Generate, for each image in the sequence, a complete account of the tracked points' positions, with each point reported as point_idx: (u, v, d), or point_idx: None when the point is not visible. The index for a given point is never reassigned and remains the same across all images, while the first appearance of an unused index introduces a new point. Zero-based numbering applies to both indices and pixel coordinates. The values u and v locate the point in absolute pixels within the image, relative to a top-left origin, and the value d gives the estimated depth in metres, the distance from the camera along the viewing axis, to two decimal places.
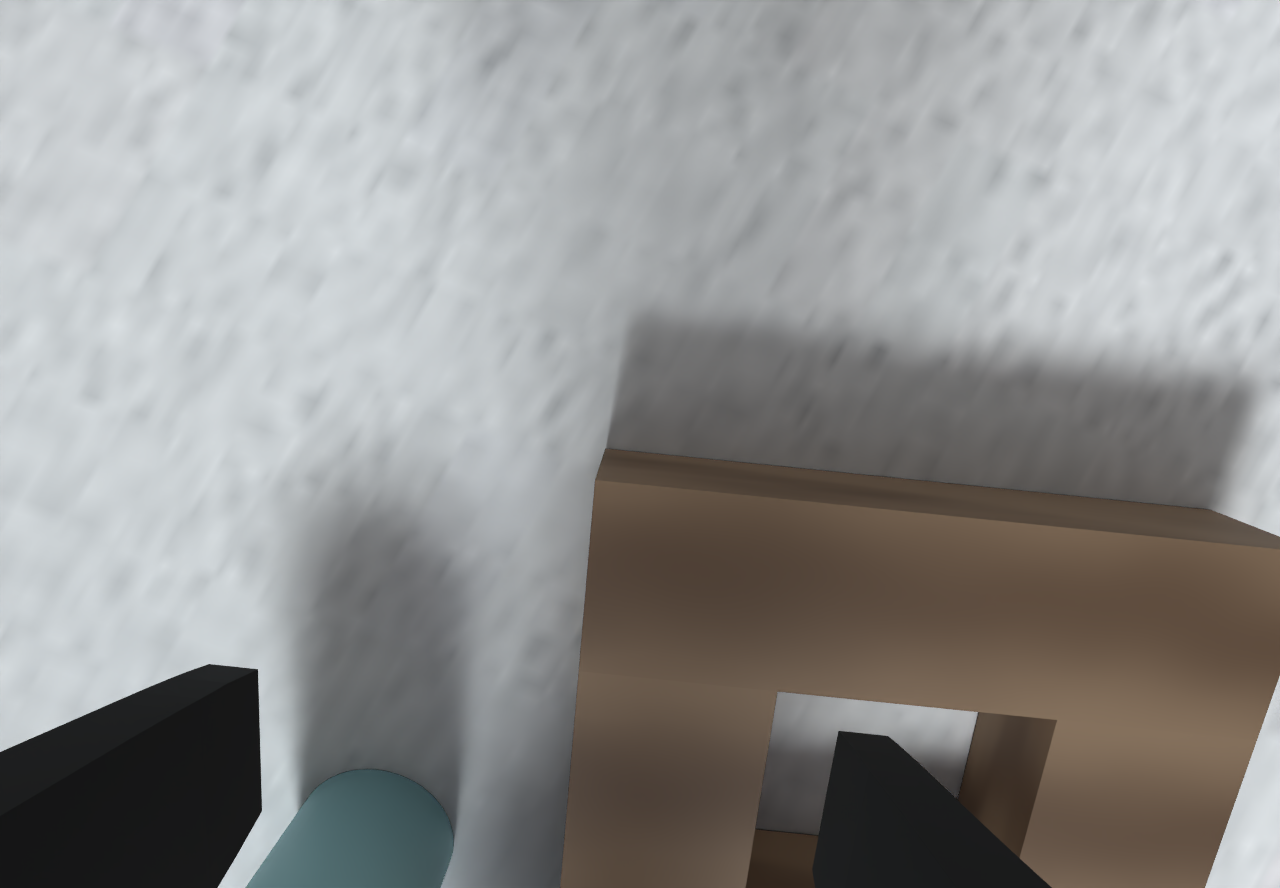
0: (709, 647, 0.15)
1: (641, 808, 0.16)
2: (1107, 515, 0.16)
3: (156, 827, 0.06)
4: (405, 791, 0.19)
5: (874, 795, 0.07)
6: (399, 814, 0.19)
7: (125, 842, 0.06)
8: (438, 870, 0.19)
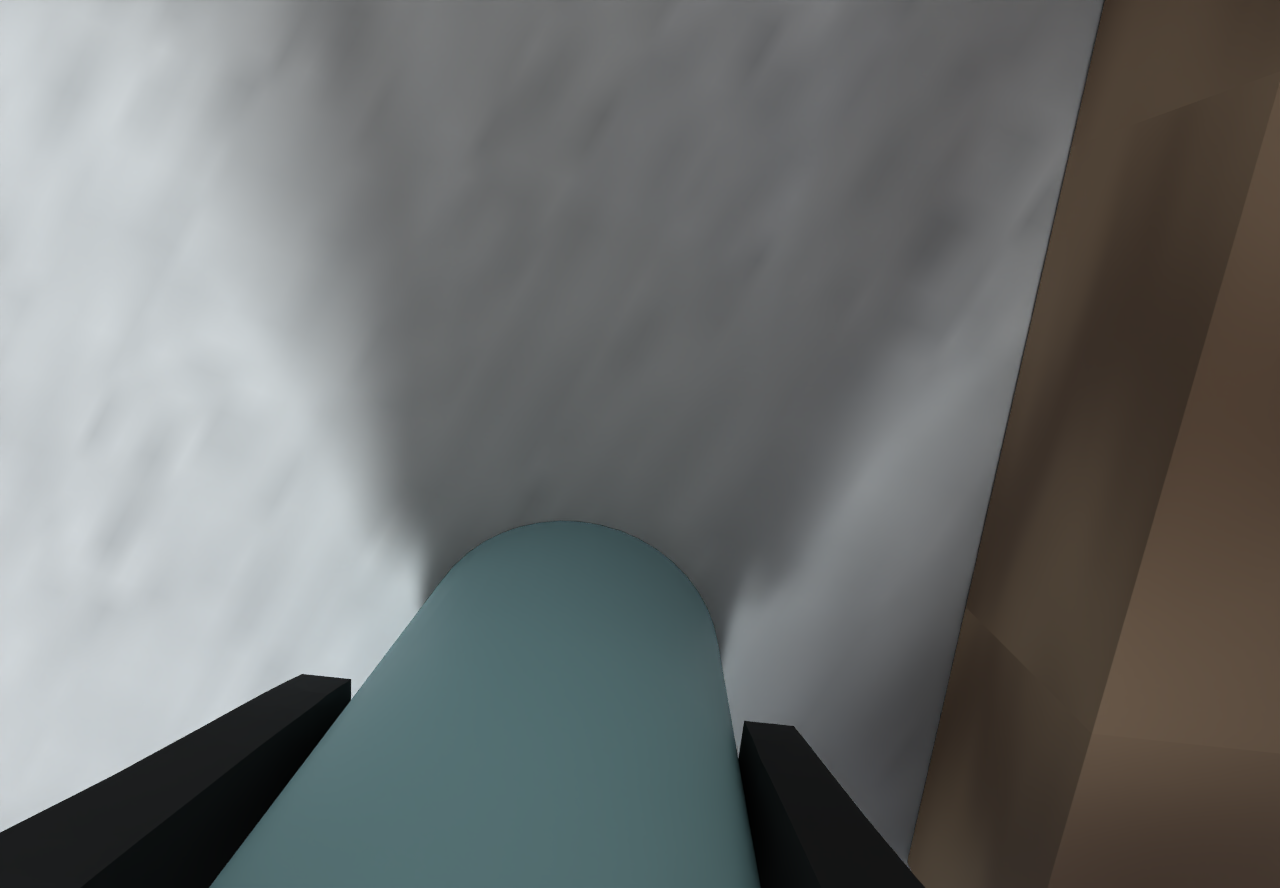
0: None
1: None
2: None
3: None
4: (646, 555, 0.10)
5: (763, 783, 0.07)
6: (656, 584, 0.09)
7: None
8: None
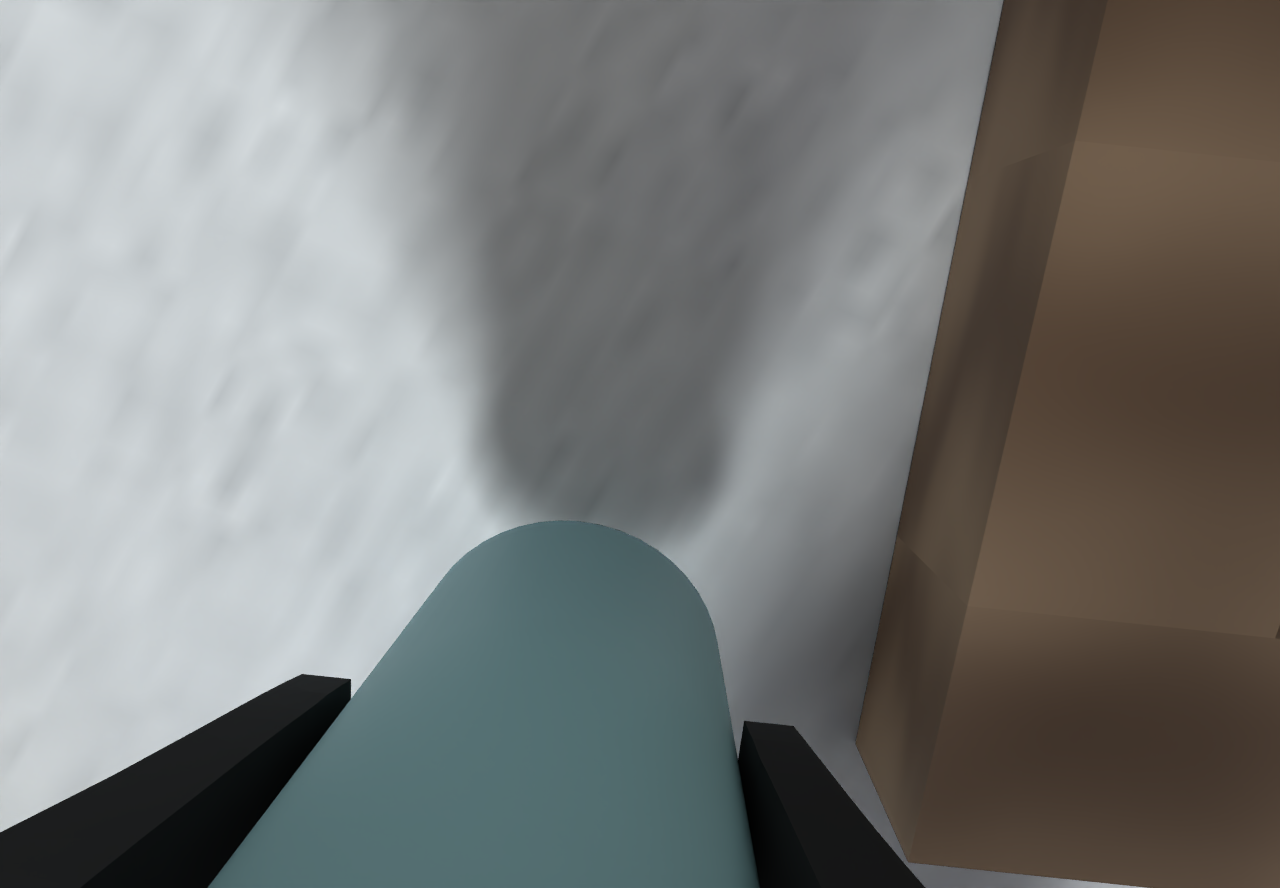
0: None
1: (1141, 424, 0.09)
2: None
3: None
4: (646, 555, 0.10)
5: (762, 783, 0.07)
6: (656, 584, 0.09)
7: None
8: None
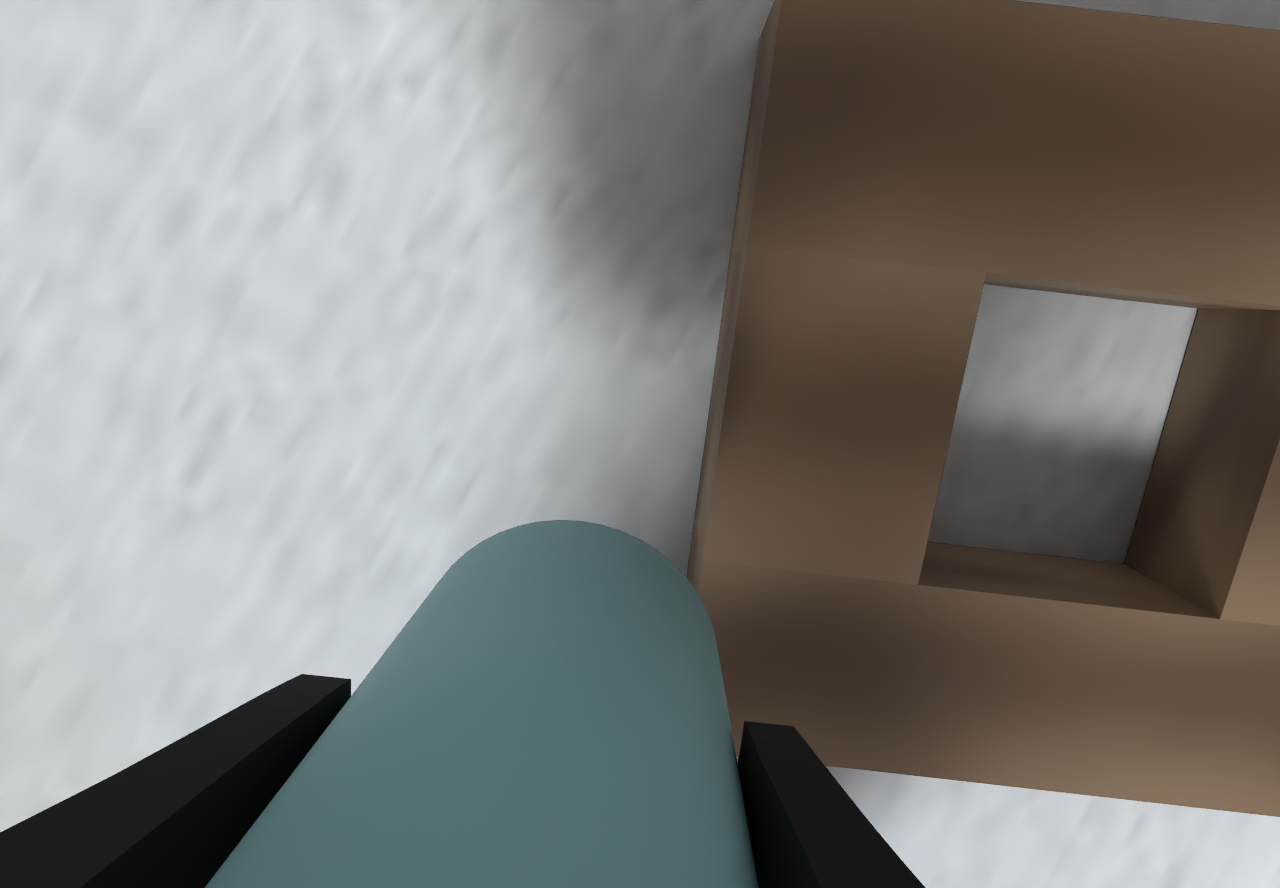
0: (908, 211, 0.13)
1: (809, 435, 0.14)
2: None
3: None
4: (645, 555, 0.10)
5: (762, 783, 0.07)
6: (654, 584, 0.09)
7: None
8: None
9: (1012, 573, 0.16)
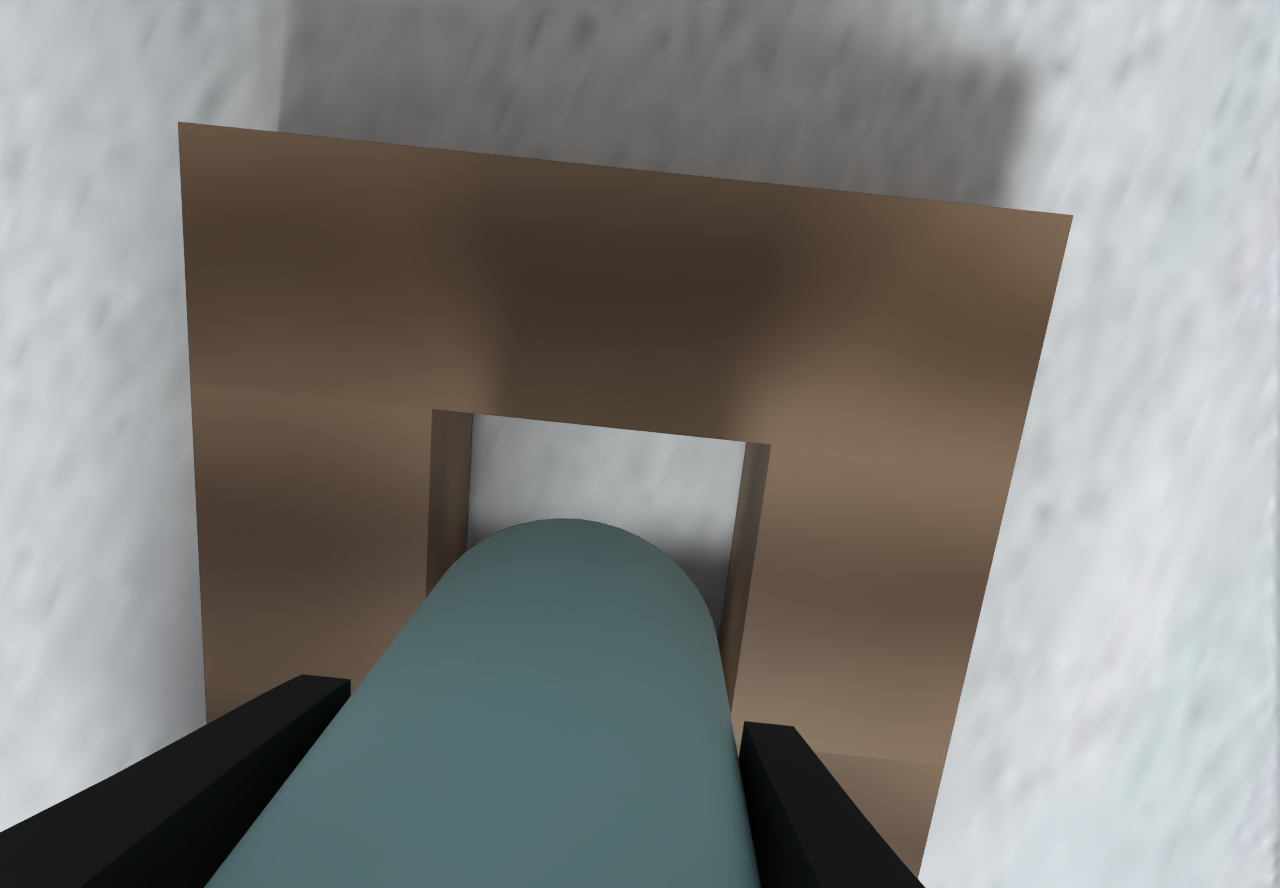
0: (343, 350, 0.13)
1: (287, 565, 0.14)
2: None
3: None
4: (646, 553, 0.10)
5: (762, 783, 0.07)
6: (655, 581, 0.09)
7: None
8: None
9: None
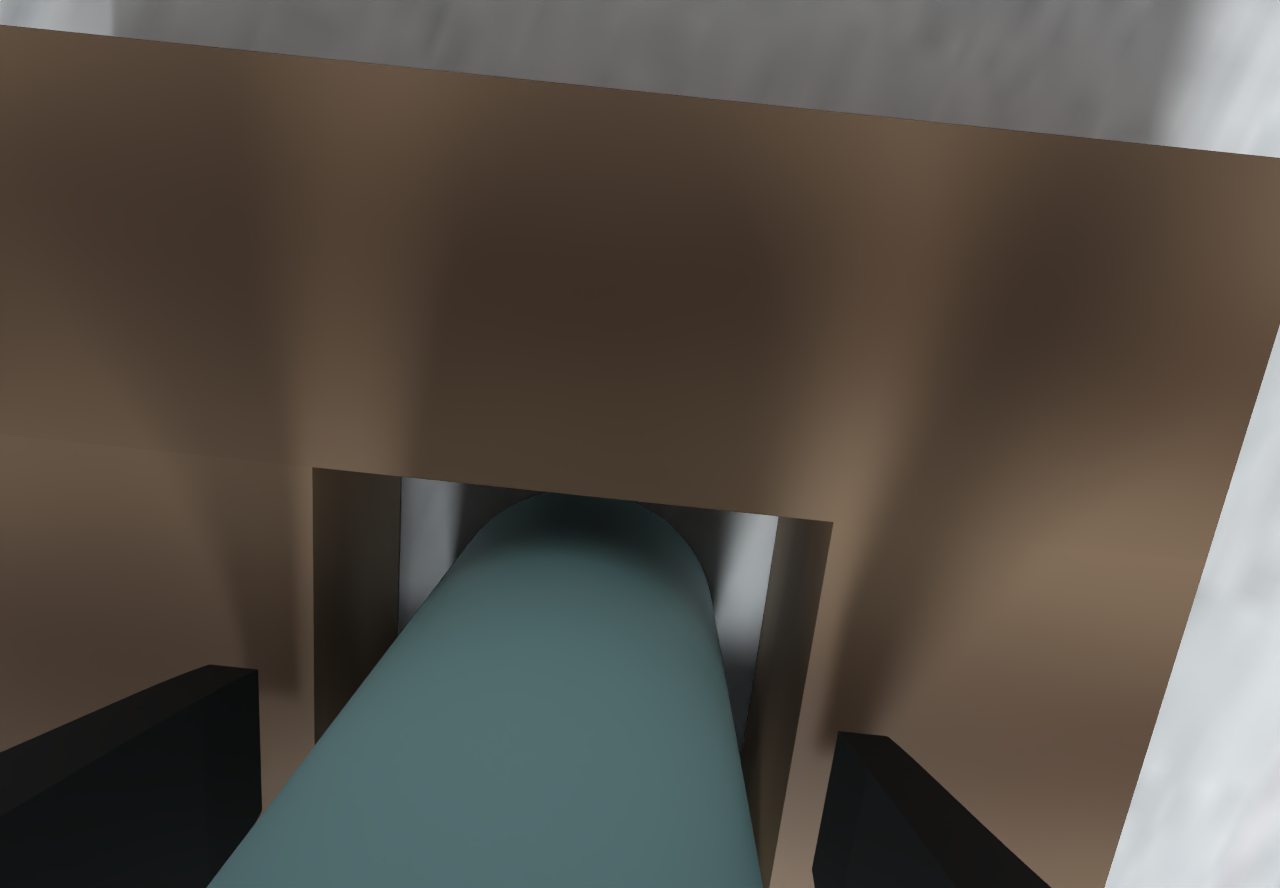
0: (172, 377, 0.08)
1: (107, 695, 0.09)
2: None
3: (157, 827, 0.06)
4: (649, 519, 0.11)
5: (873, 795, 0.07)
6: (657, 541, 0.10)
7: (125, 842, 0.06)
8: None
9: None
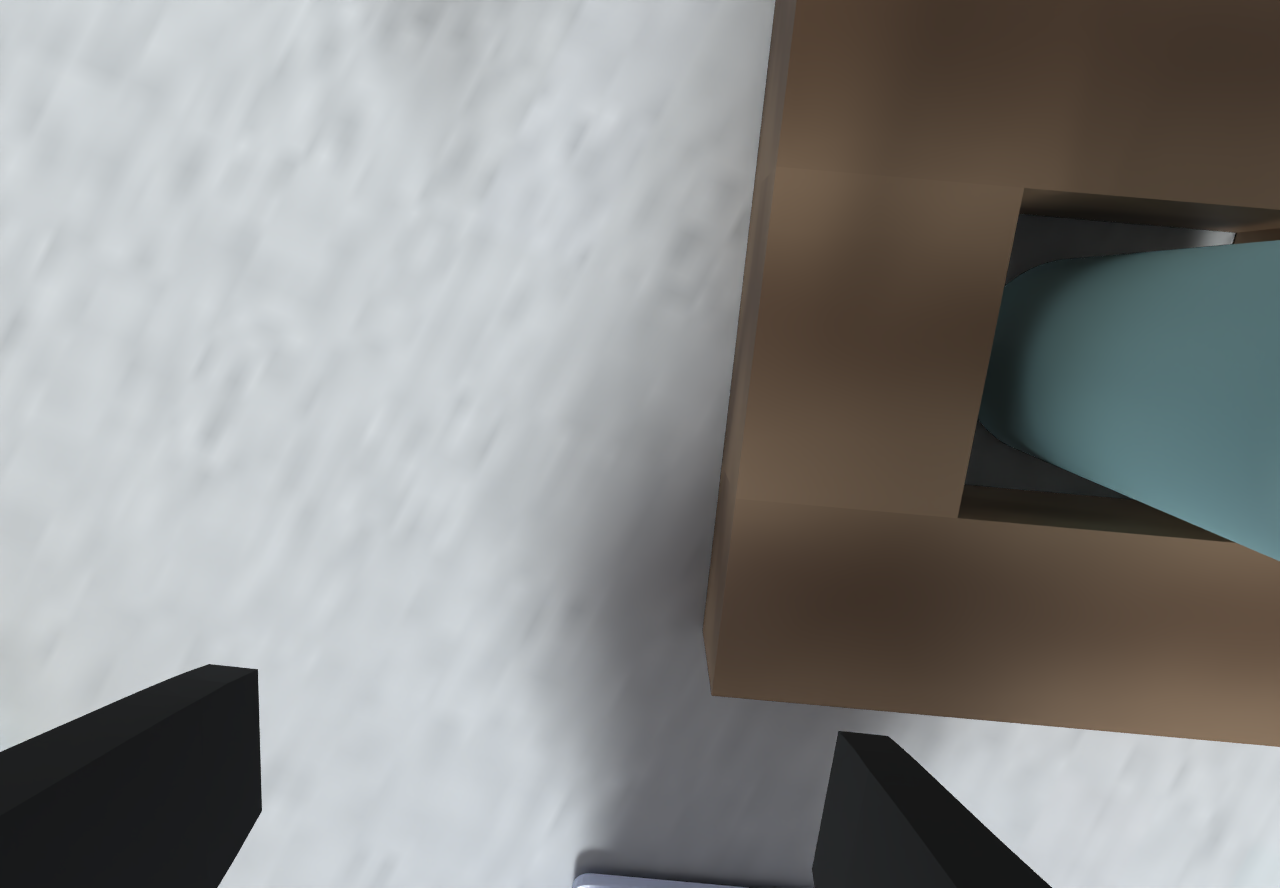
0: (942, 125, 0.12)
1: (844, 364, 0.13)
2: None
3: (156, 827, 0.06)
4: None
5: (874, 795, 0.07)
6: None
7: (124, 843, 0.06)
8: None
9: (1051, 509, 0.15)
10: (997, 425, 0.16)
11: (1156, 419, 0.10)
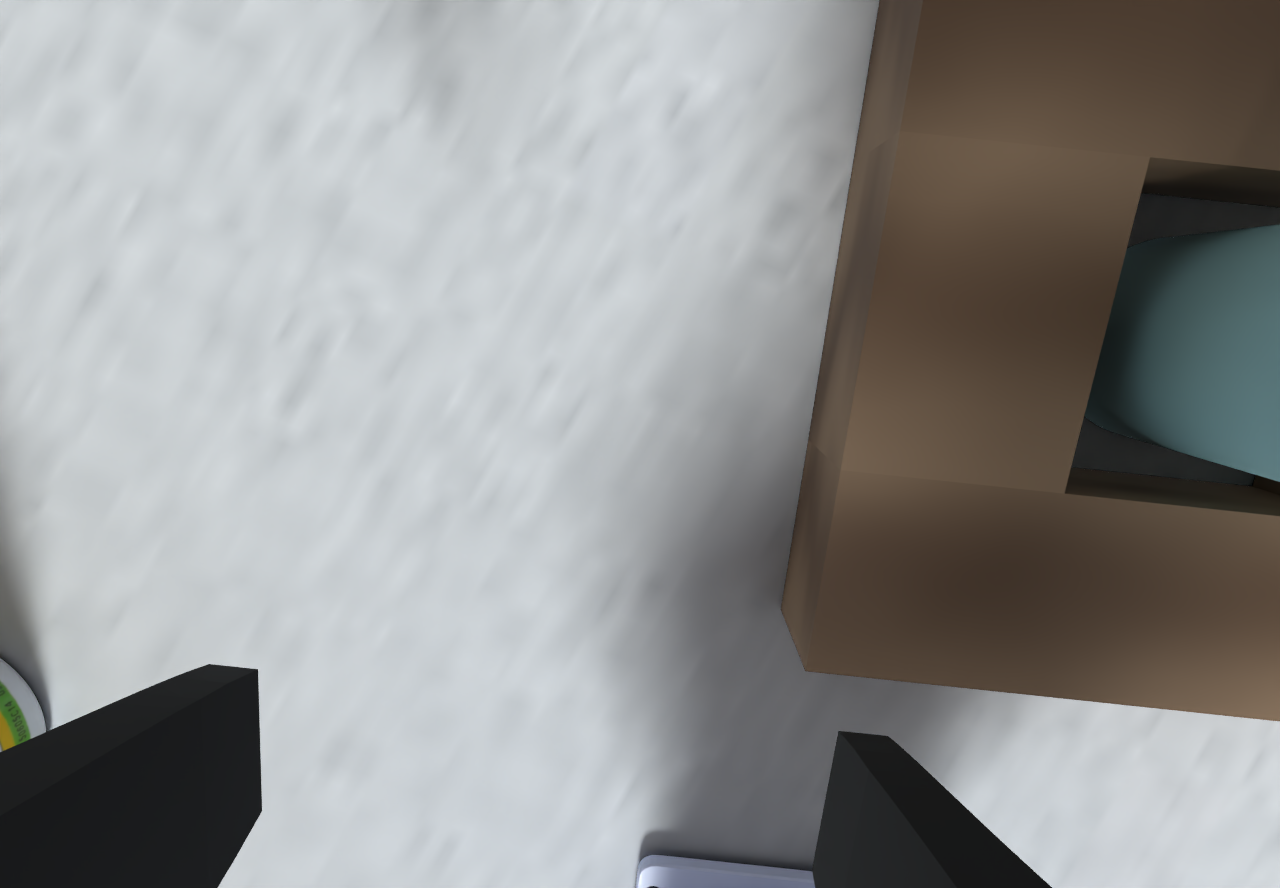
0: (1070, 92, 0.12)
1: (958, 333, 0.13)
2: None
3: (156, 827, 0.06)
4: None
5: (874, 795, 0.07)
6: None
7: (125, 841, 0.06)
8: None
9: (1149, 488, 0.15)
10: (1093, 404, 0.15)
11: None
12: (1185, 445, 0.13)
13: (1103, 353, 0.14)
